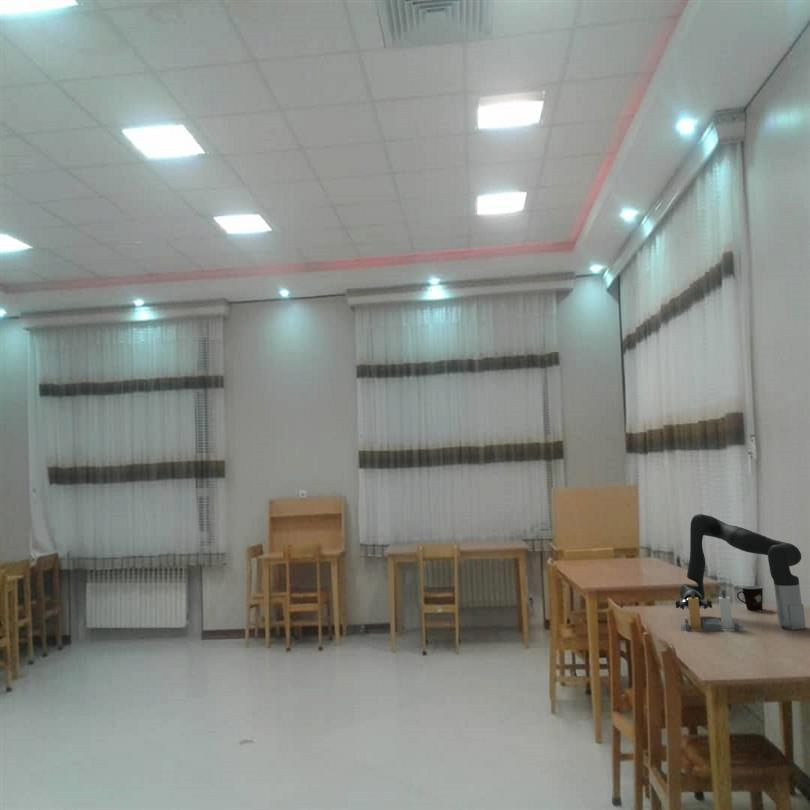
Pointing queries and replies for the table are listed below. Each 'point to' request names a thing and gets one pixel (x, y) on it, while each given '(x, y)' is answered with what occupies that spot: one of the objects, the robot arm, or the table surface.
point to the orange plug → (694, 611)
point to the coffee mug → (752, 597)
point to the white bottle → (725, 611)
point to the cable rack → (712, 626)
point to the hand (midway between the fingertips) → (693, 606)
